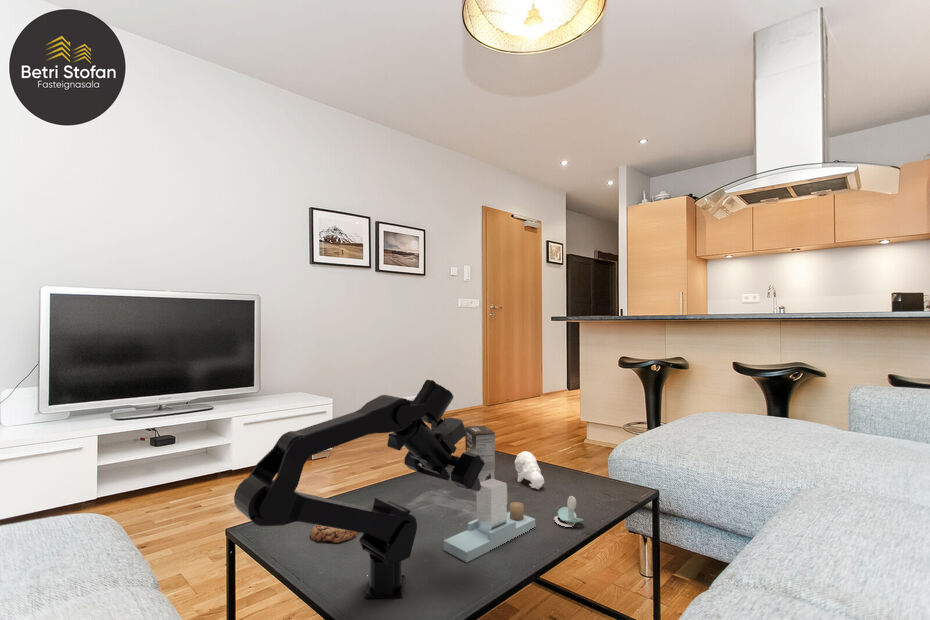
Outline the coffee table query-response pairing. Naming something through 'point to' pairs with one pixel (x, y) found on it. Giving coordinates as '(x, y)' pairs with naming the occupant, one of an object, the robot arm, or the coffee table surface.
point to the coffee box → (482, 449)
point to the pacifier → (568, 513)
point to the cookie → (331, 534)
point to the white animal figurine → (528, 469)
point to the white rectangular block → (491, 505)
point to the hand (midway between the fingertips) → (463, 483)
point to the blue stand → (489, 535)
